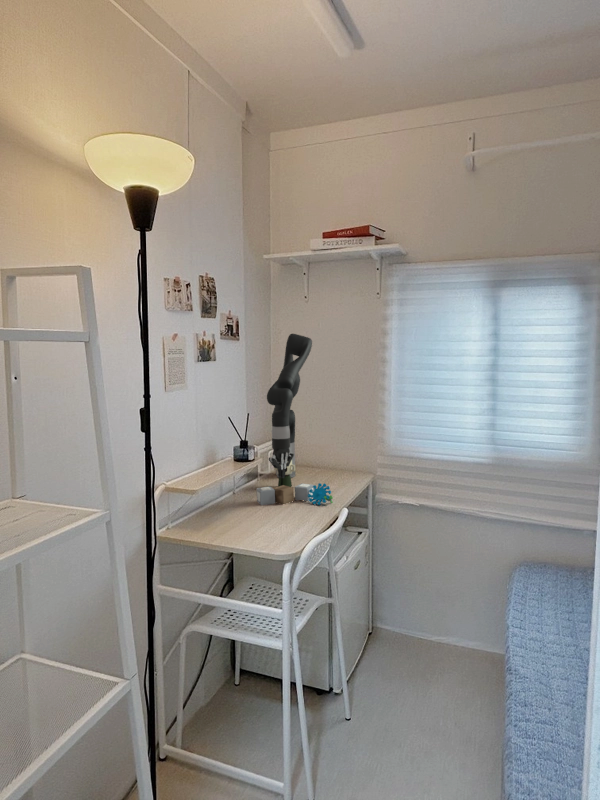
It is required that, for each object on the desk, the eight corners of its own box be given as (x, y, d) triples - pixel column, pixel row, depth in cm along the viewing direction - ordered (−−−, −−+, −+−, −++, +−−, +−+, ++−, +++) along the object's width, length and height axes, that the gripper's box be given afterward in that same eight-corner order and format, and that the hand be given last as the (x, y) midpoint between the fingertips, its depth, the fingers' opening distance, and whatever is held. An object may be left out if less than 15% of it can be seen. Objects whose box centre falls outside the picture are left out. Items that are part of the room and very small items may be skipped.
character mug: (270, 488, 243) (269, 460, 242) (278, 484, 250) (277, 457, 248) (291, 491, 238) (291, 462, 237) (299, 487, 245) (298, 459, 243)
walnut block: (273, 502, 223) (273, 488, 222) (283, 498, 227) (283, 485, 226) (283, 504, 219) (283, 490, 218) (293, 501, 223) (293, 487, 222)
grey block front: (256, 501, 224) (256, 487, 223) (270, 499, 226) (270, 486, 226) (260, 505, 218) (260, 491, 218) (275, 503, 221) (274, 489, 220)
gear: (303, 499, 220) (315, 479, 224) (308, 506, 224) (320, 486, 228) (324, 507, 213) (336, 486, 217) (329, 514, 217) (341, 494, 221)
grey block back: (295, 500, 225) (294, 486, 224) (302, 496, 230) (301, 482, 229) (308, 502, 222) (307, 487, 221) (314, 498, 227) (314, 484, 226)
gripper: (275, 440, 212) (276, 482, 214) (298, 435, 222) (299, 475, 224) (262, 437, 218) (264, 479, 220) (285, 433, 227) (286, 473, 229)
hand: (281, 477), depth 222 cm, fingers closed
